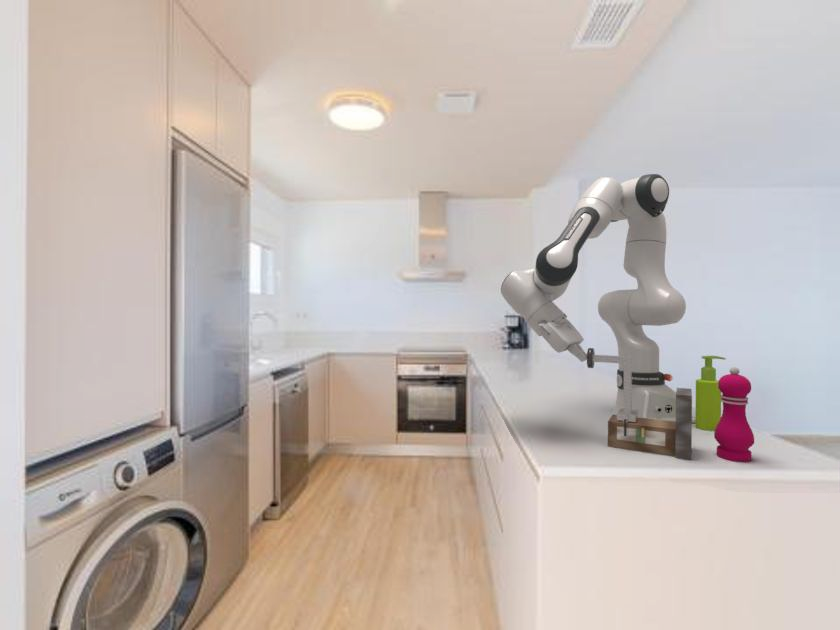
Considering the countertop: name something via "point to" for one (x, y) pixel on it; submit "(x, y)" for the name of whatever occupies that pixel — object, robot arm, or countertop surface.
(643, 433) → the peak needle
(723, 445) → the pepper mill
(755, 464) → the countertop surface
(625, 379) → the plunger
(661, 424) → the stand
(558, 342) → the robot arm
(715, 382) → the soap dispenser
